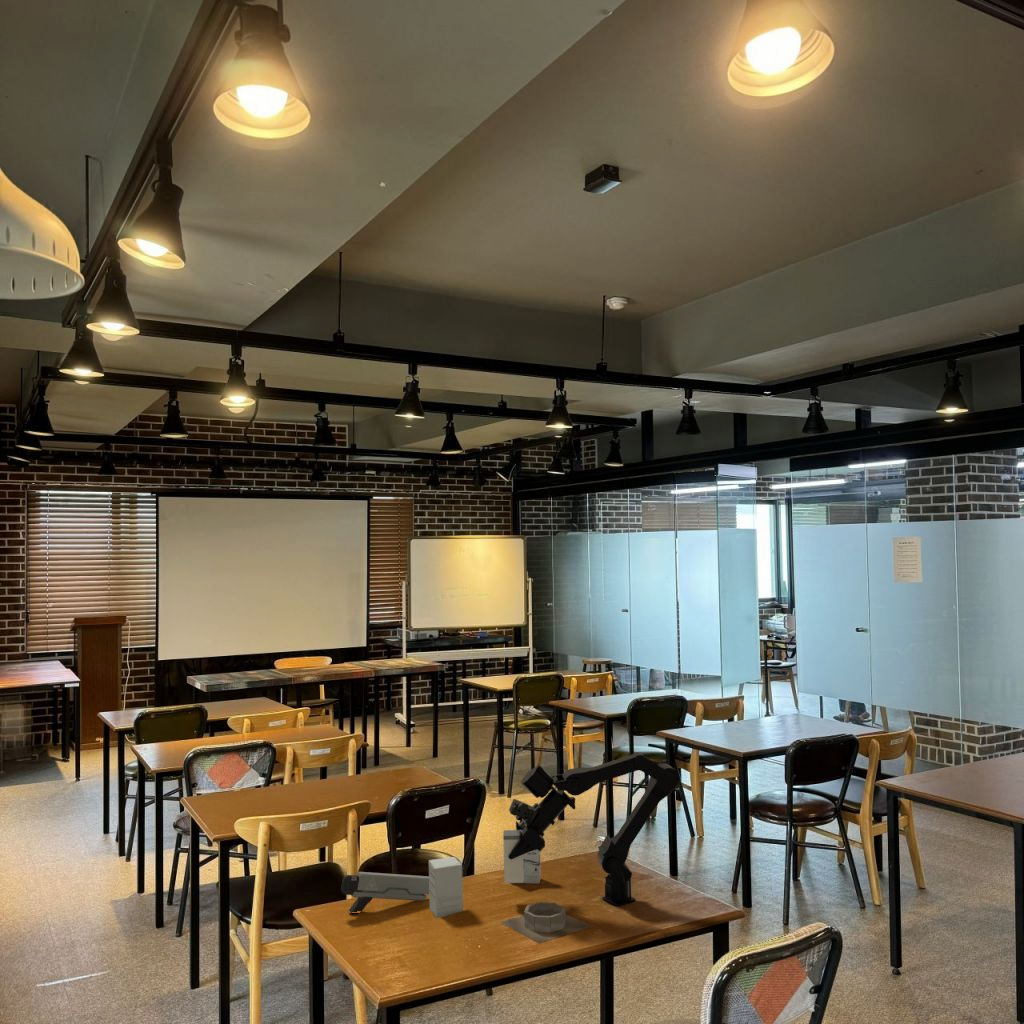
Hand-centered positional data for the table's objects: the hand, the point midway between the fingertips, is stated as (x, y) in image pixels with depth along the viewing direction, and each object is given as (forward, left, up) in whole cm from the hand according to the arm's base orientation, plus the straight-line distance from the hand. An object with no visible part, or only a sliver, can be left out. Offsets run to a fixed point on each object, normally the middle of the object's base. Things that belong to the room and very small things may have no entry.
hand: (508, 854), depth 231 cm
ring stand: (+2, +18, -13) cm, 22 cm away
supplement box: (+15, -7, -13) cm, 21 cm away
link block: (-1, +1, -6) cm, 7 cm away
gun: (+25, -20, -14) cm, 35 cm away
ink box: (-15, -13, -13) cm, 24 cm away
